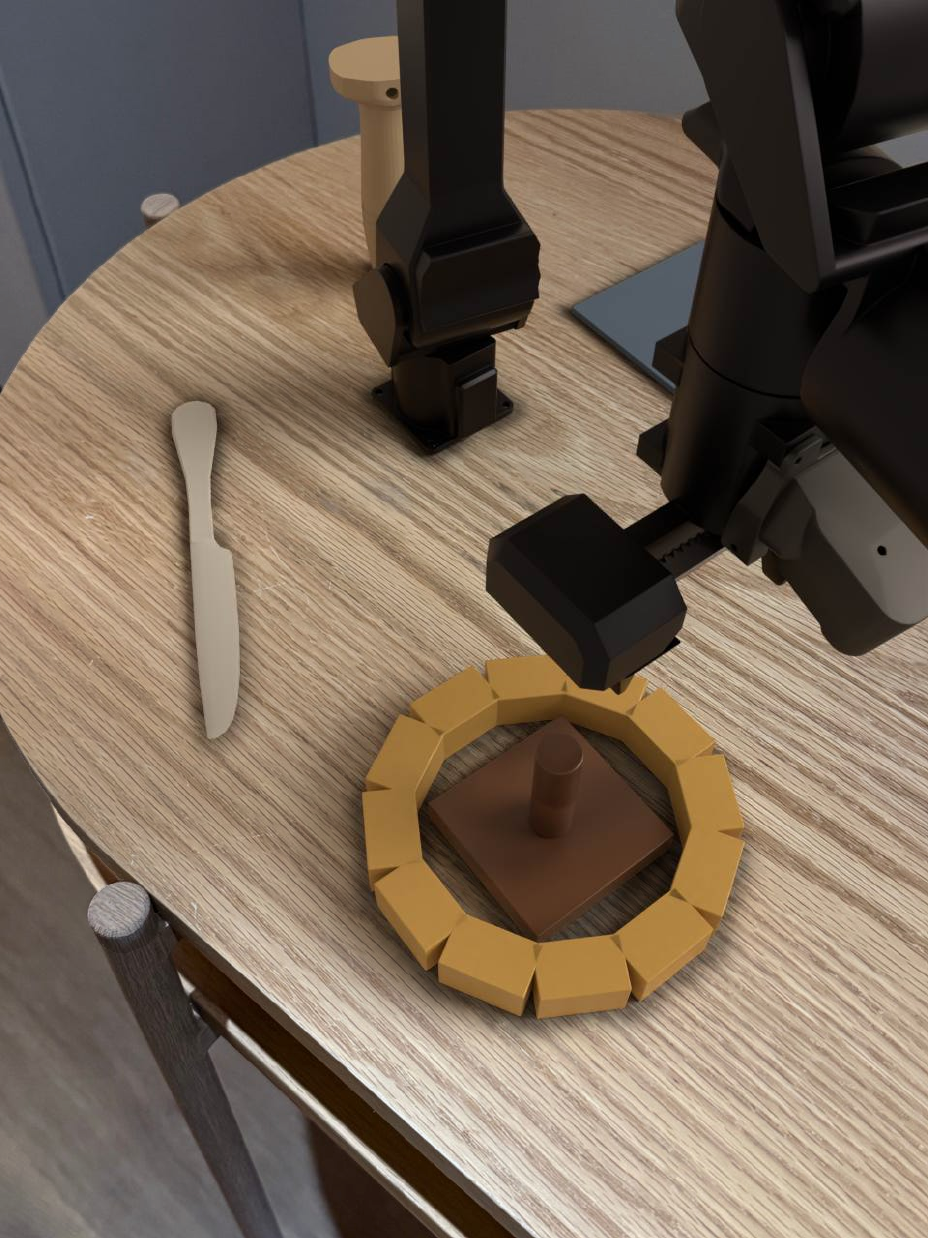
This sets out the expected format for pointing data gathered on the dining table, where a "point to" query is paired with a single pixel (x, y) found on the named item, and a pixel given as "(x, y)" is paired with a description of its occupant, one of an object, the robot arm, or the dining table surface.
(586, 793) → the post
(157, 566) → the dining table surface
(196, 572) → the butter knife
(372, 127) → the handle
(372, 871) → the ring
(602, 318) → the mat
